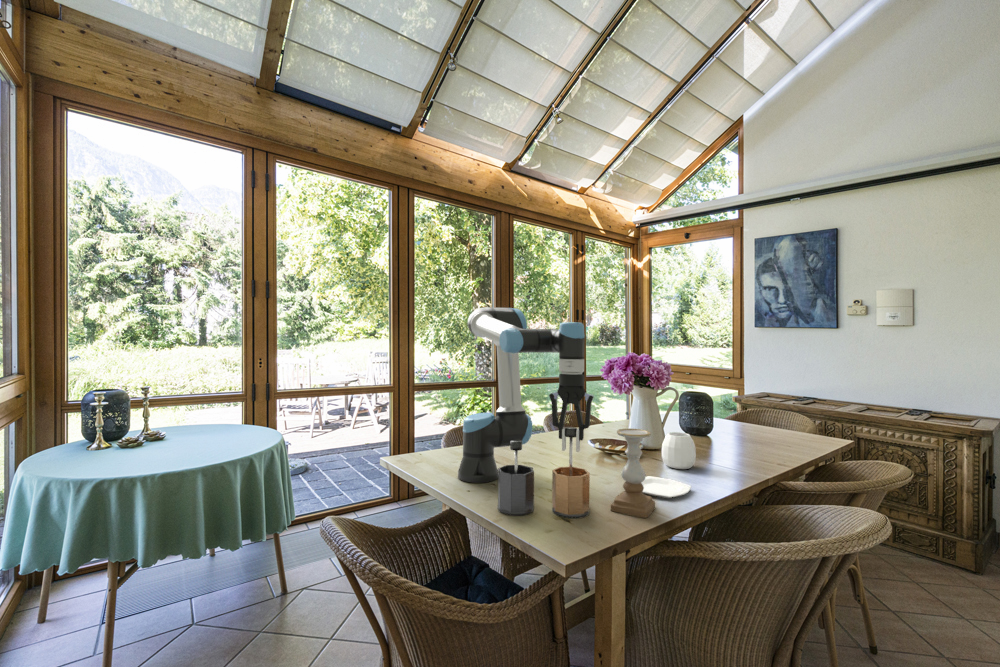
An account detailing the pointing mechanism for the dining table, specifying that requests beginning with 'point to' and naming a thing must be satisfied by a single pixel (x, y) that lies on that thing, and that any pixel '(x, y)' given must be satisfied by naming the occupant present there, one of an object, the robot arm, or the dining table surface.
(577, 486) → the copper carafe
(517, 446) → the steel plunger
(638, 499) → the candle holder
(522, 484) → the steel carafe
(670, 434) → the cup
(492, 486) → the dining table surface
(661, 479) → the plate
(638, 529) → the dining table surface
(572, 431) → the copper plunger
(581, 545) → the dining table surface
